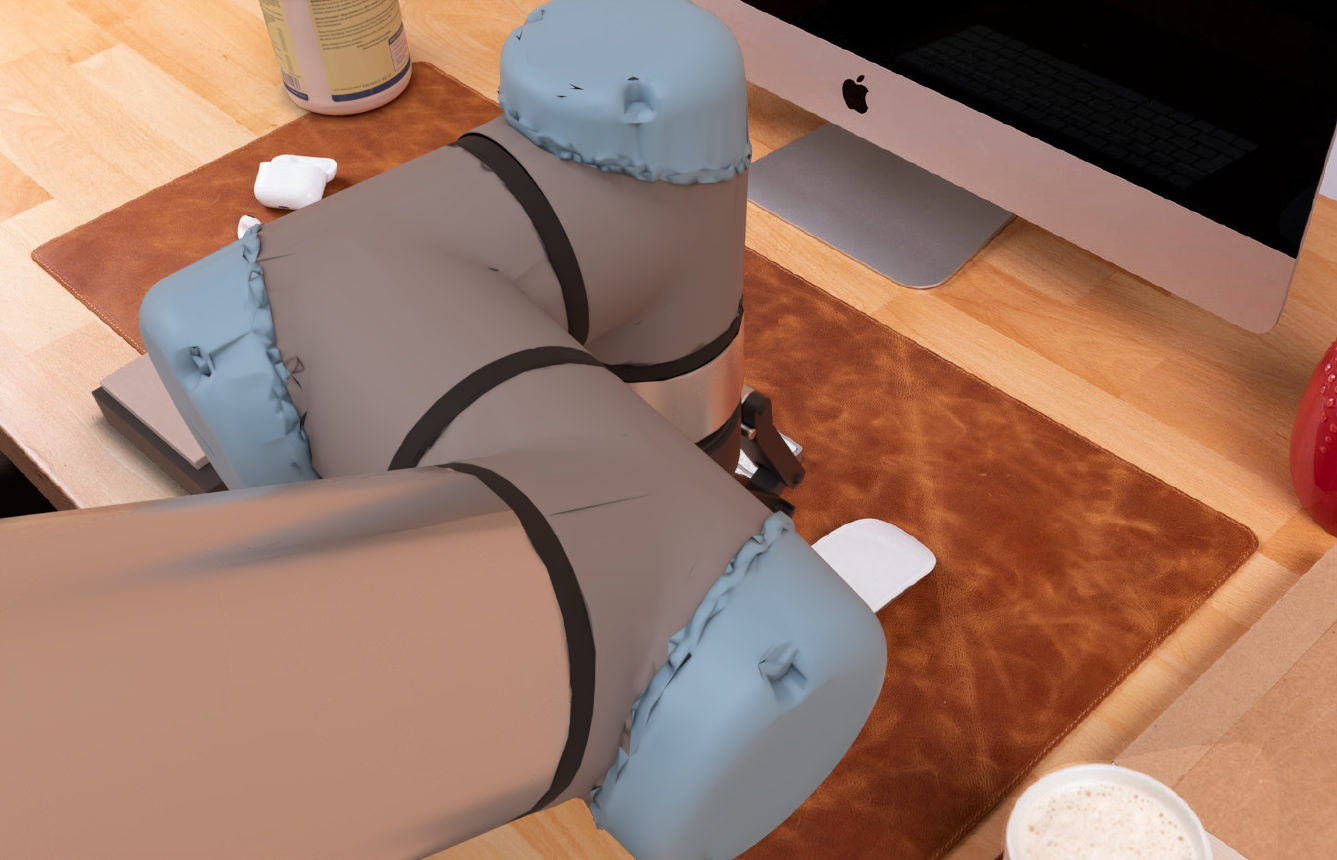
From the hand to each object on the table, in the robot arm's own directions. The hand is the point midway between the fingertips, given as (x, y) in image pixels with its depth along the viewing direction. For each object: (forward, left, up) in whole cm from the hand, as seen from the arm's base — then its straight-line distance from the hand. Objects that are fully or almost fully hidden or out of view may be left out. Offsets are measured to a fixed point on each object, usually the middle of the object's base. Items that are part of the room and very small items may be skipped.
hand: (664, 670), depth 61 cm
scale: (-1, +39, -6) cm, 40 cm away
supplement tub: (+32, +68, -6) cm, 75 cm away
